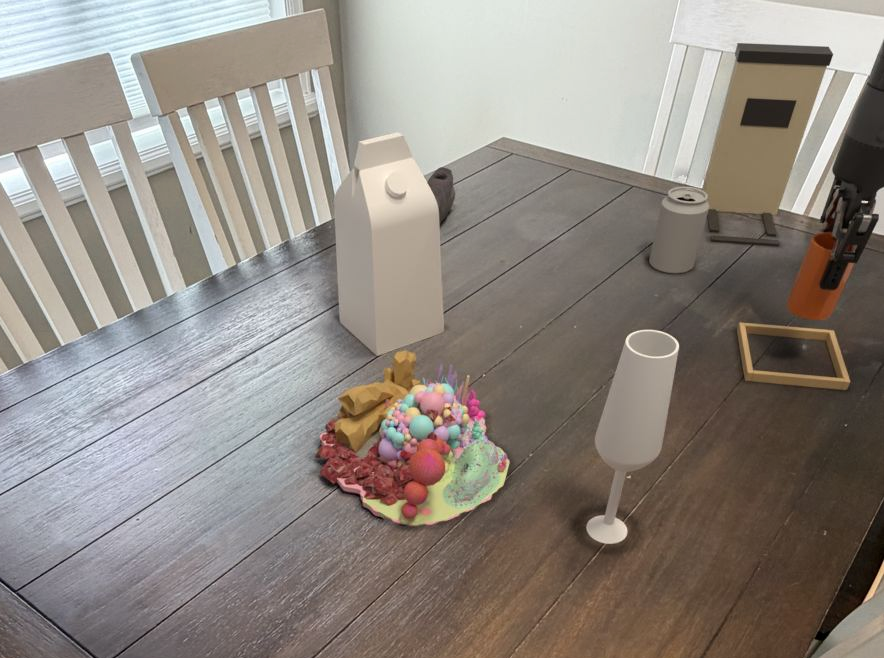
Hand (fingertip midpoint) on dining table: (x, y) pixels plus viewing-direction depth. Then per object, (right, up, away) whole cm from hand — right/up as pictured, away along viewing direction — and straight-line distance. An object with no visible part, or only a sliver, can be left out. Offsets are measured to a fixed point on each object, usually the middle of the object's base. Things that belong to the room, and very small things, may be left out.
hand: (823, 275), depth 96 cm
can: (-11, +14, +29) cm, 34 cm away
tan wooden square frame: (0, -8, +10) cm, 13 cm away
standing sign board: (+5, +26, +39) cm, 47 cm away
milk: (-58, -1, +17) cm, 60 cm away
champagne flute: (-32, -35, -12) cm, 49 cm away
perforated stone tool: (-51, +29, +42) cm, 72 cm away
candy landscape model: (-54, -25, -3) cm, 59 cm away
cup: (0, -3, +4) cm, 5 cm away
